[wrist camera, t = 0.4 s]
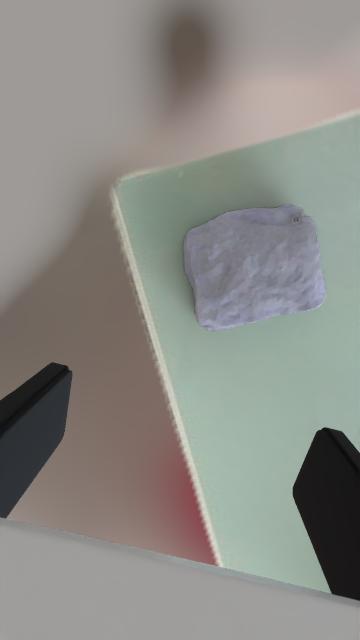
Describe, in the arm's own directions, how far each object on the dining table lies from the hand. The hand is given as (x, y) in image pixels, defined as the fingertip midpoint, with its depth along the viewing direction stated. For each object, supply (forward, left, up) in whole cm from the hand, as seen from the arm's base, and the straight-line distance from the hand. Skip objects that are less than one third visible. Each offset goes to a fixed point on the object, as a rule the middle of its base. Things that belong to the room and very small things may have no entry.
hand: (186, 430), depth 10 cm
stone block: (-6, +4, -18) cm, 20 cm away
